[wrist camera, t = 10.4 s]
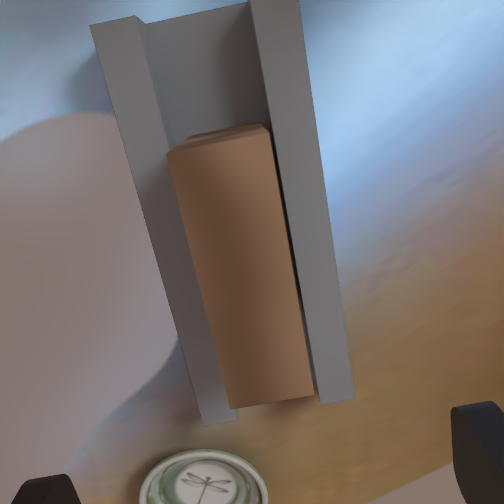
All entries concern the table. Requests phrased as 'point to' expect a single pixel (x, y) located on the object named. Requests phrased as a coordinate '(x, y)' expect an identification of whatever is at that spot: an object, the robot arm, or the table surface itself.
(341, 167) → the table surface
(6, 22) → the table surface
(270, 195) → the wooden framed block
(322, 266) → the picture ledge
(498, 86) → the table surface
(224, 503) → the saucer
